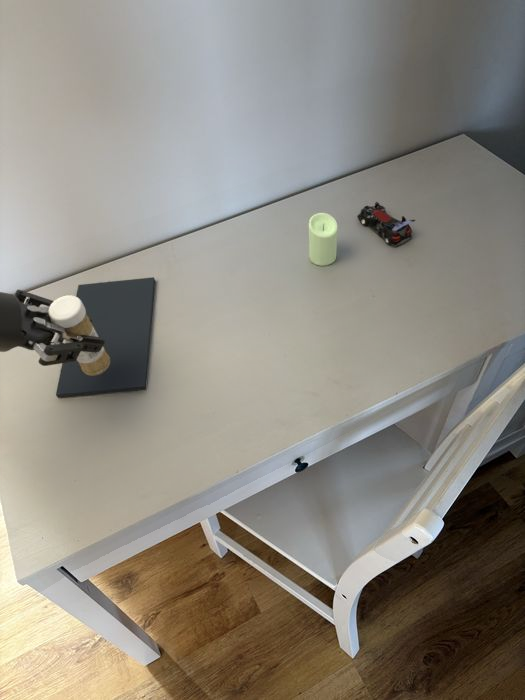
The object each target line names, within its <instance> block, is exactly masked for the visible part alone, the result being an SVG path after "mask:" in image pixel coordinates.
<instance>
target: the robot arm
mask: <svg viewBox="0 0 525 700" xmlns="http://www.w3.org/2000/svg"><path fill="white" fill-rule="evenodd" d="M54 301H55V300H52V299H48V298H46V297H43V296H40V295H37V294H34V293H31V292H28V291H25V290H22V289H16V291H15V293H9V292H2V291H0V353H6V352H9V351H11V350H12V349H15V348H17V347H19V348H23V349H26V350H29V351H35V352H36V353H37V354H38V356H39V359H38V363H39V365H41V366H44V367H49V366H53V365H59V364H61V365H62V363H67V362H74V361H76V359H77V358H78V356H79V354H80V352H81V351H84V352H94V353H96V352H99V351H100V350H101V348H102V347H103V345H104V343H105V341H104V340H103V338H102V337H95V336H87V335H78V334H74V333H71V332H68V331H66V328H64V327H61V326H59V325H55V324H54V323H53V321H52V320H51V318H50V316H49V307H50V305H51V304H52V303H53V302H54ZM41 305H42V306H41ZM88 318H89V320H90V322H91V323H92V320H91V319H90V317H88ZM55 335H56V336H55ZM54 337H55V338H54ZM64 339H68V340H72V341H71V342H70V343H66V342H64V341H65V340H64Z"/></svg>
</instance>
